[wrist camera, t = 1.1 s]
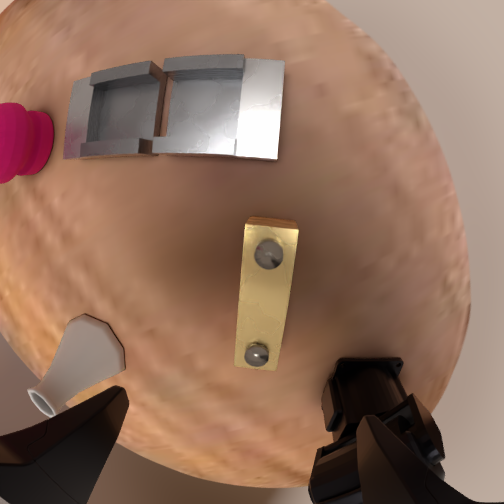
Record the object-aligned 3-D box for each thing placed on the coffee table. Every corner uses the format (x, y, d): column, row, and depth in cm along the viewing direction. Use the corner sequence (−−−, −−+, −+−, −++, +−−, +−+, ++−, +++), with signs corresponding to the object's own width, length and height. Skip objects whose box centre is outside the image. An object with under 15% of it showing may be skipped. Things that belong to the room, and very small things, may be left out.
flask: (62, 311, 23) (0, 360, 13) (113, 314, 22) (46, 379, 12) (85, 367, 24) (39, 422, 15) (136, 375, 24) (91, 445, 14)
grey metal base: (284, 74, 15) (285, 56, 13) (276, 161, 17) (276, 158, 14) (90, 87, 16) (69, 79, 14) (81, 159, 18) (58, 159, 15)
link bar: (251, 215, 19) (243, 226, 15) (294, 220, 18) (299, 232, 14) (240, 339, 21) (232, 371, 17) (277, 343, 21) (275, 376, 17)
